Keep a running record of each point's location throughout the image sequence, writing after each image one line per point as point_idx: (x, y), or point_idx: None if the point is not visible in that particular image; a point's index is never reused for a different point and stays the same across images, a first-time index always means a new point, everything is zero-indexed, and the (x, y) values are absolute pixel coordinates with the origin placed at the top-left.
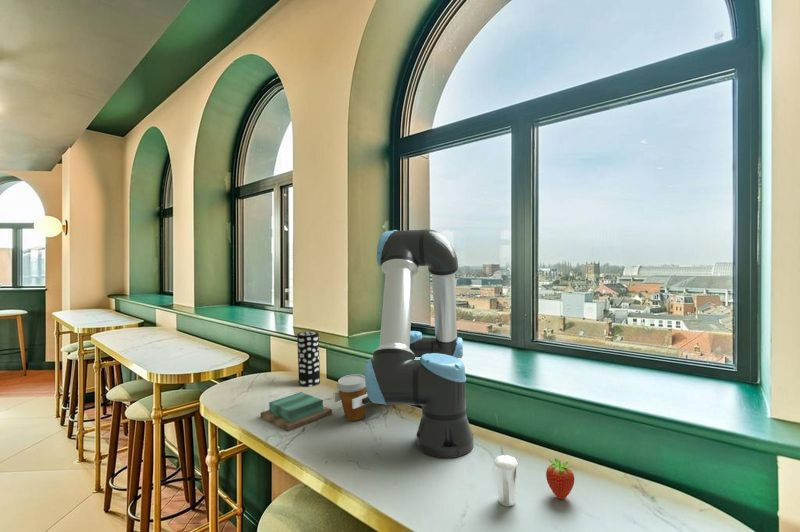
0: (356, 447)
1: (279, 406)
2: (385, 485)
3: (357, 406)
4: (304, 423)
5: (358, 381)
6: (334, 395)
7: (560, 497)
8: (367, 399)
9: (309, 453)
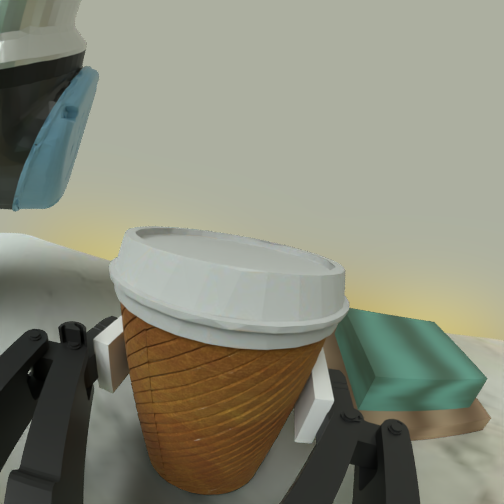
0: (98, 306)
1: (394, 316)
2: (39, 254)
3: None
4: None
5: (174, 244)
6: None
7: None
8: (97, 327)
9: None
